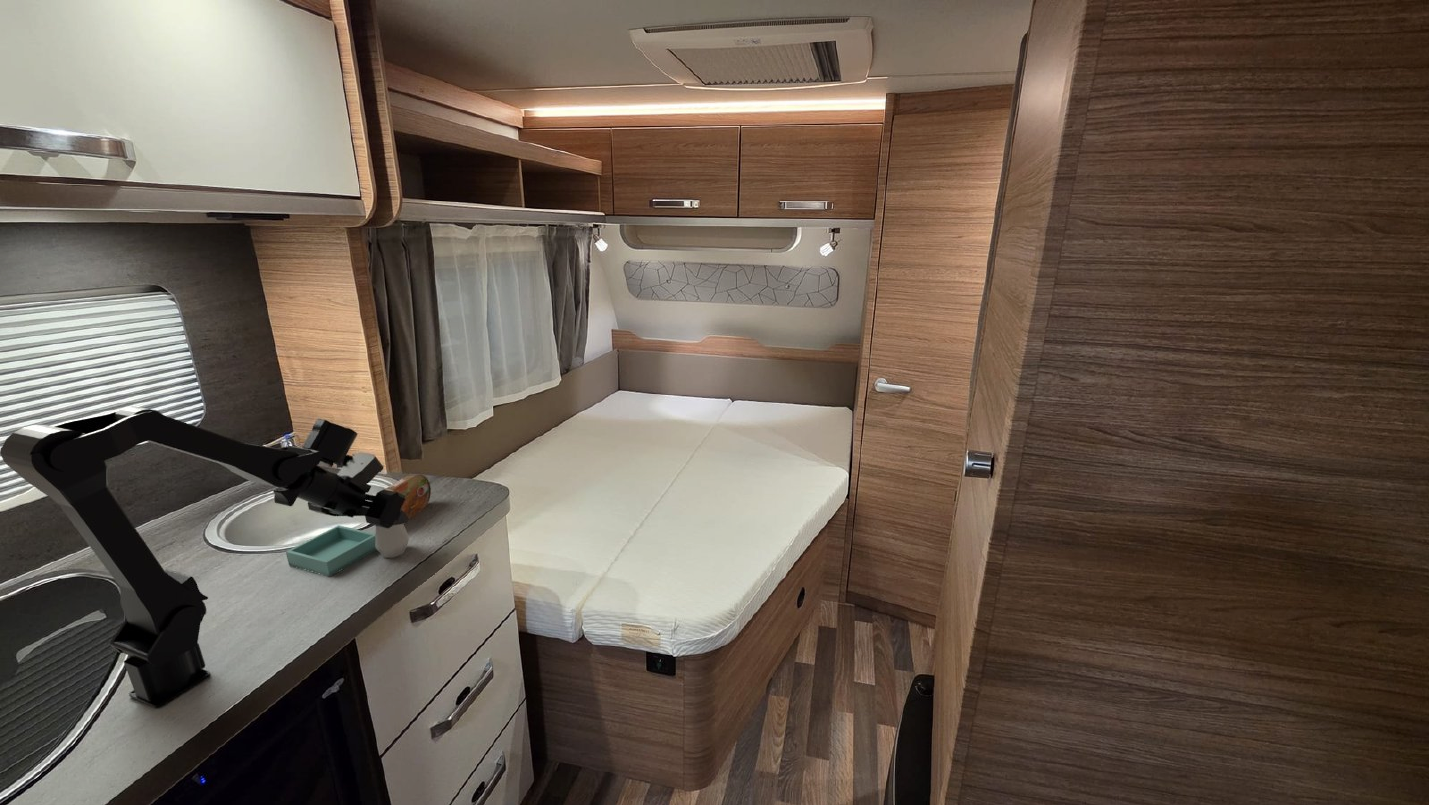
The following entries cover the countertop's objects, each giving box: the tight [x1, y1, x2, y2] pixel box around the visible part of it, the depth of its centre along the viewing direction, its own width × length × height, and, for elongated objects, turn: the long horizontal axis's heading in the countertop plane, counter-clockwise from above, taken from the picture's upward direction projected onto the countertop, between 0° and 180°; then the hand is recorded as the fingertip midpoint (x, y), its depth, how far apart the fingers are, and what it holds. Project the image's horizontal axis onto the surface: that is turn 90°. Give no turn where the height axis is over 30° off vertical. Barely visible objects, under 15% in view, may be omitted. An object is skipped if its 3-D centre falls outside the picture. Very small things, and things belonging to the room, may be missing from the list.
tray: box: [285, 524, 378, 577], centre depth 113 cm, size 11×11×3 cm
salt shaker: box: [371, 488, 410, 559], centre depth 113 cm, size 6×6×13 cm
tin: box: [384, 474, 432, 520], centre depth 127 cm, size 15×3×8 cm, turn 168°
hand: (389, 516), depth 113 cm, fingers open, 9 cm apart
